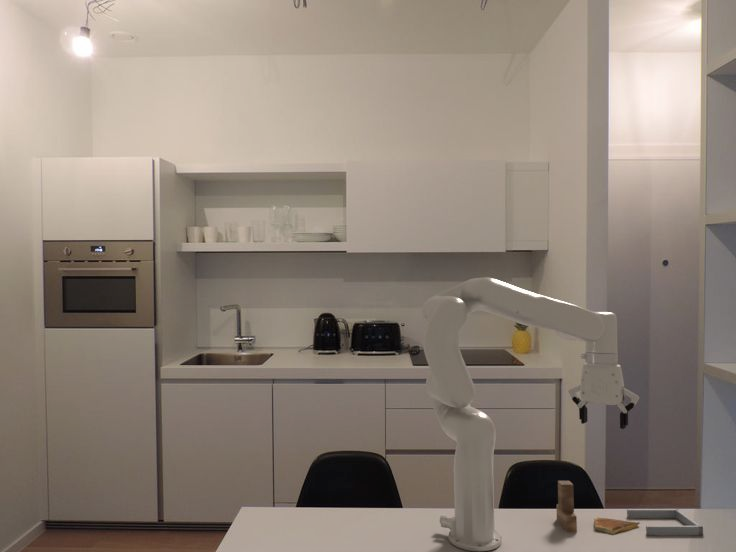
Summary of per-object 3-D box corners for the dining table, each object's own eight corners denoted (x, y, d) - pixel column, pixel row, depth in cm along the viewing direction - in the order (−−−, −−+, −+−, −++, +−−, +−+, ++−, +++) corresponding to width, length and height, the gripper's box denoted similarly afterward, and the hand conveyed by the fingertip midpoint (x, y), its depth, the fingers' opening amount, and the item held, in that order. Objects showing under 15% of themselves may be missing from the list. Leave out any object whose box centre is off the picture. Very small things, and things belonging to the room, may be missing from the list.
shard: (640, 528, 142) (639, 521, 142) (642, 540, 135) (642, 533, 135) (594, 522, 146) (594, 515, 146) (594, 534, 139) (594, 526, 139)
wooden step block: (565, 532, 139) (564, 487, 139) (555, 519, 147) (554, 477, 147) (577, 532, 139) (576, 487, 139) (567, 519, 147) (566, 477, 147)
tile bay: (647, 535, 137) (647, 526, 137) (627, 516, 148) (626, 509, 148) (703, 535, 136) (702, 526, 136) (678, 516, 148) (677, 509, 148)
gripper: (563, 358, 147) (565, 423, 146) (634, 362, 136) (636, 433, 136) (573, 356, 153) (574, 418, 152) (641, 360, 142) (643, 427, 142)
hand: (603, 425), depth 144 cm, fingers open, 9 cm apart
